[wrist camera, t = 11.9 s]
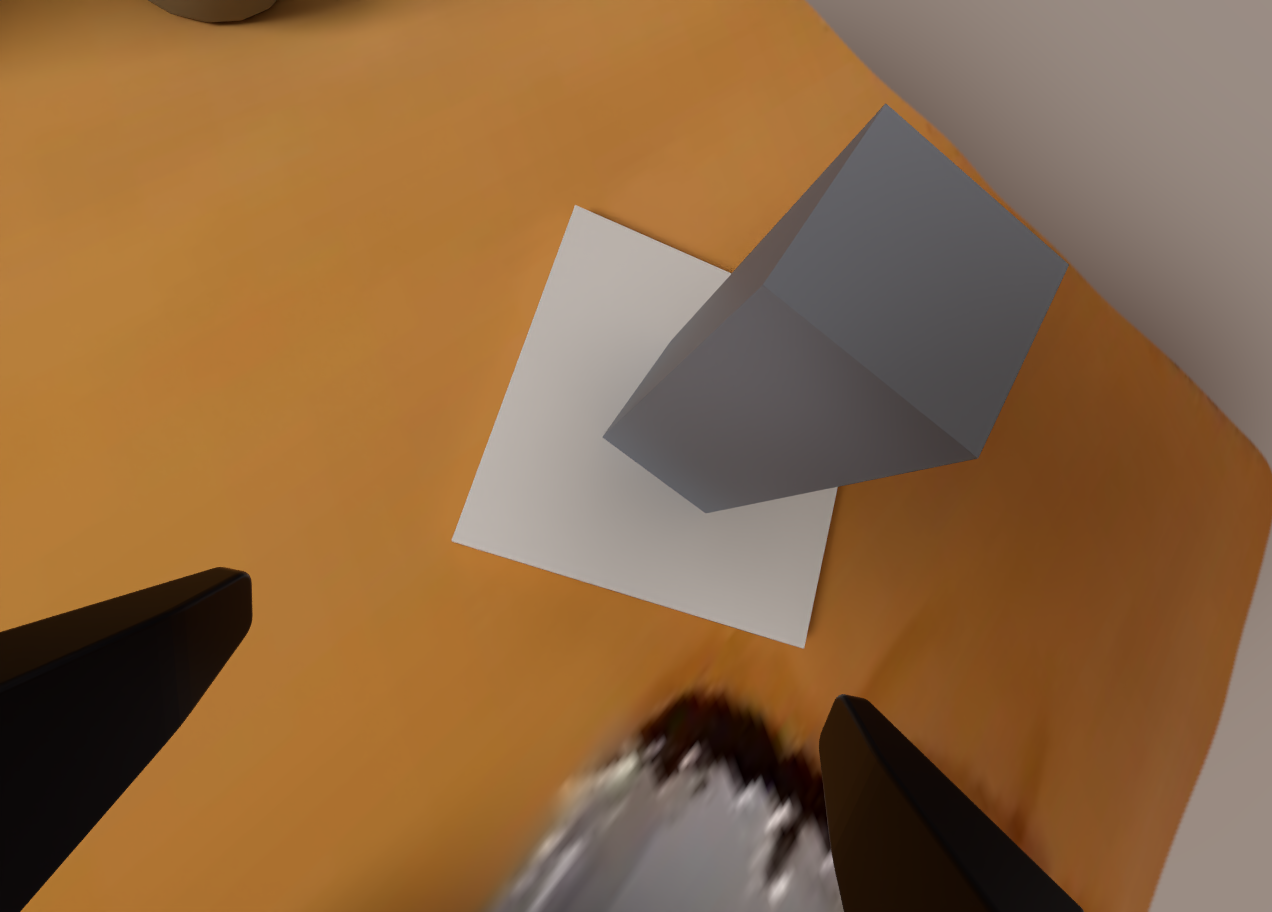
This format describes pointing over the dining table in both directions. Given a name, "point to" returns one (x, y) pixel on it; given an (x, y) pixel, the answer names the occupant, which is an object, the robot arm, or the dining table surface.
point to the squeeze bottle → (214, 8)
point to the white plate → (610, 480)
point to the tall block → (849, 335)
